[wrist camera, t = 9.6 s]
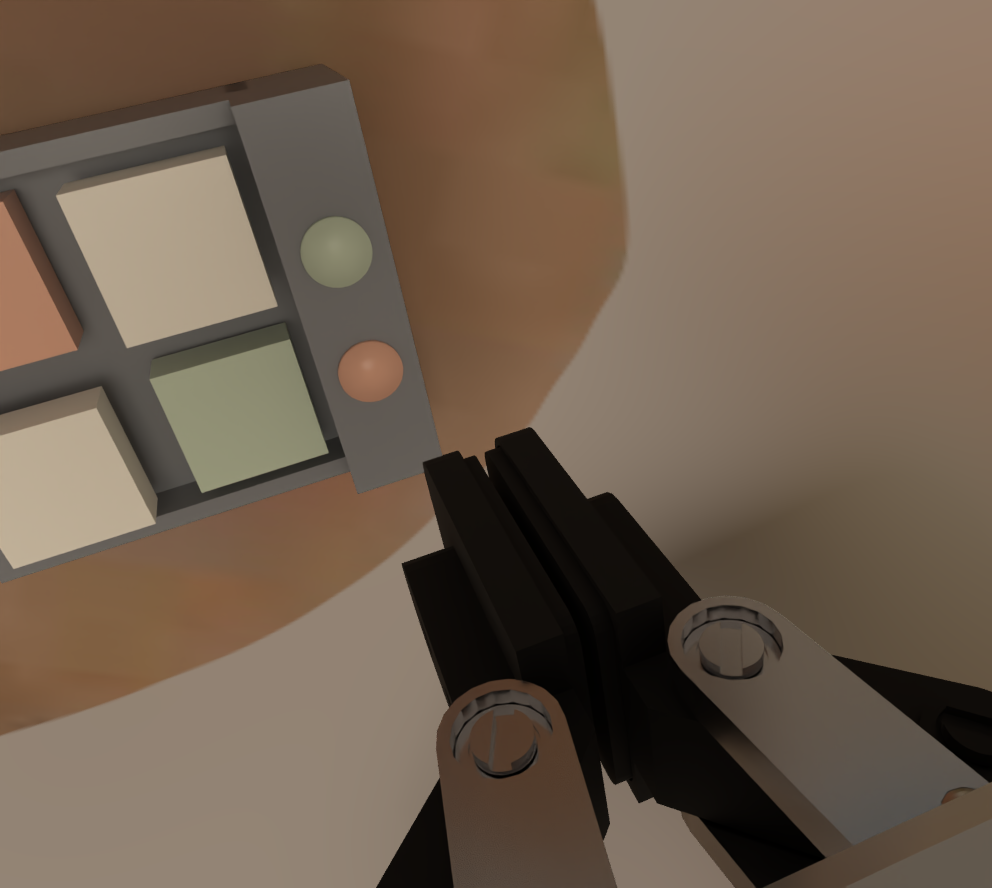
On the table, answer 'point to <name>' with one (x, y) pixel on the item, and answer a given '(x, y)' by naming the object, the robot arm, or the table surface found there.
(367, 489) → the keypad
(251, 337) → the key sage
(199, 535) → the table surface
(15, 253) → the key terracotta
